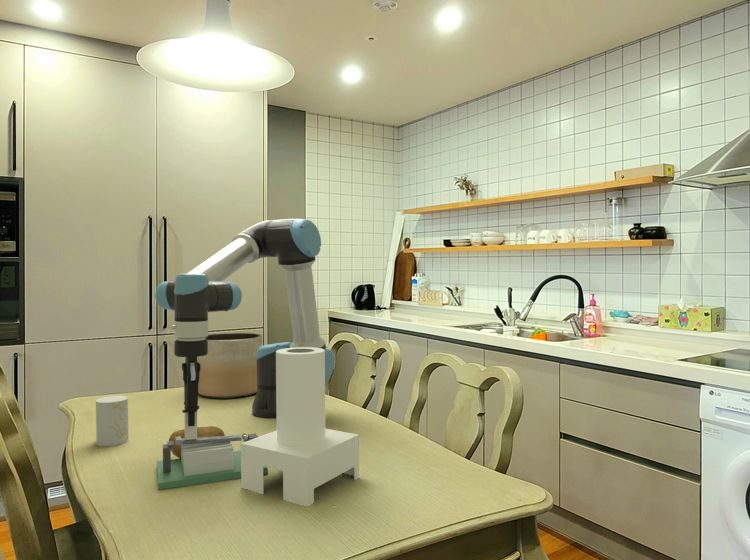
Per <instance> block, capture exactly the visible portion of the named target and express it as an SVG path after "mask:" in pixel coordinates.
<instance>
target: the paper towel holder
mask: <svg viewBox="0 0 750 560" xmlns="http://www.w3.org/2000/svg"><path fill="white" fill-rule="evenodd" d="M276 416H277V417H276V430H274V431H271V432H268V433H266V434H263V435H260V436H258V437H257V438H254V439H252V440H249V441H246V442H245V441H243V442H241V443H240V451H241V478H240V479H241V480H240V483H241V484H240V485H241V489H242V488H244V489H243V490H246V489H248V490H247V491H249V490H252V491H251V492H253V491H255V492H254V493H256V492H258V494H260V493H262V494H261V495H264V474H263V466H266V467H268V468H271V469H275V470H279V471H282V476H283V477H282V485H283V486H282V488H283V489H282V493H283V494H282V497H283V501H284V500H286V501H285V502H288V501H290V502H289V503H291V502H293V503H292V504H295V503H296V504H295V505H298V504H301V505H300V506H302V505H304V506H303V507H305V506H309V507H311V506H312V505H311V504H313V503H314V504H315V489H316V488H318V487H319V486H322V485H324V484H325V483H327V482H329V481H331V480H333V479H335V478H336V477H338V476H340V475H342V473H345V474H344V475H346V474H349V475H348V476H351V475H353V476H352V477H354V479H353V480H354V481H355V479H356V480H358V479H359V478H360V435H359V434H357V433H352V432H346V431H341V430H335V429H331V428H326V383H325V350H324V349H321V348H314V347H295V348H285V349H280V350H277V351H276ZM358 477H359V478H358ZM314 504H313V505H314ZM310 505H311V506H310Z"/></svg>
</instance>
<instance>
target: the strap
mask: <svg viewBox="0 0 750 560" xmlns="http://www.w3.org/2000/svg"><path fill="white" fill-rule="evenodd" d="M242 440H243V442H246V441H248V434H246V433H242V434H241V435H240V434H235V435H232V434H231V435H225V436H215V437H199V438H197V439H191V440H185V438H182V439H181V437H176V439H175V443H176V445H184V444H199V443H215V442H241V441H242Z"/></svg>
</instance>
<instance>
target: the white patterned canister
mask: <svg viewBox="0 0 750 560" xmlns="http://www.w3.org/2000/svg"><path fill="white" fill-rule="evenodd" d="M95 423H96V424H95V427H96V429H95V431H96V433H95V434H96V435H95V436H96V445H97V446H100V447H112V446H113V447H114V446H119V445H122V444H125V443H127V442H128V441H129V438H130V437H129V397H128V396H127V395H126V396H125V395H110V396H104V397H100V398H97V399H96V400H95Z"/></svg>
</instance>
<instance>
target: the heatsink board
mask: <svg viewBox="0 0 750 560" xmlns="http://www.w3.org/2000/svg"><path fill="white" fill-rule="evenodd" d="M247 437H248V441H249V440H252V439H254V438H257V437H259V436H258V434H257V433H255V432H254V433H248V434H247ZM231 442H232V441H230V442H215V443H199V444H184V445H181V458H173V459H171V453H172V451H171V448H172V447H173V441H169V440H168V441H167V442H166V443H165V444H162V460H159V461H158V460H156V471H157V473H156V475H157V484H158V490H159V491H161V490H167V489H168V490H169V489H174V488H175V489H176V488H182V487H189V486H196V485H201V484H202V485H203V484H209V483H216V482H221V481H229V480H234V479H235V480H237V479H241V450H236V451H235V450H234V446H233V443H231ZM268 469H269V467H266V466H263V475H268V473H269V470H268Z"/></svg>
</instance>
